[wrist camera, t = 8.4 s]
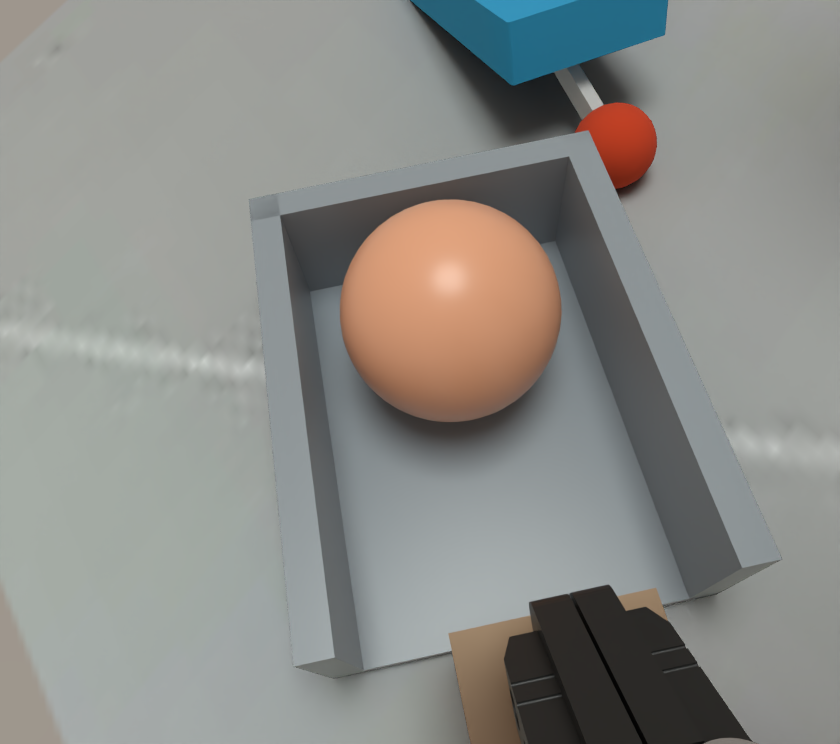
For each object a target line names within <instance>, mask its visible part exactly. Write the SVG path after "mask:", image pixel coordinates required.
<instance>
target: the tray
mask: <svg viewBox="0 0 840 744" xmlns="http://www.w3.org/2000/svg"><path fill="white" fill-rule="evenodd" d="M435 200H466V201H472V202H477V203H480V204H484V205H487V206H490V207H492V208H495V209H497V210H499V211H501V212H503V213H505V214H507V215H508V216H510V217H511V218H513V219H515V220H516V221H517V222H519V223H520V224H521V225H522V226H523V227H524V228H526V229H527V230H528V231H529V232H530V233H531V234H532V236H533V237H534V238H535V239H536V240H537V241H538V242H539V244H540V245H541V247H542V248H543V250H544V251H545V253H546V254H547V256H548V258H549V260H550V262H551V264H552V266H553V268H554V271H555V275H556V278H557V281H558V285H559V290H560V296H561V309H562V316H561V325H560V331H559V335H558V339H557V343H556V347H555V349H554V352H553V354H552V357H551V359H550V361H549V363H548V364H547V366H546V368H545V369H544V371H543V373H542V374H541V376H540V377H539V378H538V380H537V381H536V382H535V383H534V384H533V386H532V387H531V388H530V389H529V390H528V391H527V392H526V393H524V394H523V395H522V396H521V397H520V398H519V399H517V400H516V401H515V402H513V403H512V404H510V405H508V406H507V407H505V408H503V409H502V410H500V411H498V412H496V413H493V414H491V415H488V416H485V417H482V418H478V419H474V420H469V421H462V422H437V421H431V420H426V419H422V418H418V417H415V416H412V415H410V414H408V413H405V412H403V411H401V410H399V409H397V408H395V407H394V406H392V405H391V404H389V403H387V402H386V401H384V400H383V399H382V398H381V397H380V396H378V395H377V394H376V393H375V392H374V391H373V390H372V389H371V388H370V387H369V386H368V385H367V384H366V383H365V381H364V380H363V379H362V378H361V376H360V375H359V373H358V372H357V370H356V368H355V367H354V365H353V363H352V361H351V359H350V357H349V355H348V352H347V350H346V347H345V344H344V340H343V337H342V331H341V325H340V298H341V290H342V286H343V282H344V278H345V275H346V273H347V270H348V268H349V265H350V263H351V261H352V259H353V258H354V256H355V254H356V252H357V251H358V249H359V247H360V246H361V245H362V244H363V242H364V241H365V240H366V238H367V237H368V236H369V235H370V234H371V233H372V232H373V231H374V230H375V229H376V228H377V227H378V226H379V225H381V224H382V223H383V222H385V221H386V220H388V219H389V218H390V217H392V216H394V215H395V214H397V213H399V212H401V211H403V210H405V209H407V208H410V207H412V206H415V205H418V204H421V203H425V202H429V201H435ZM249 207H250V218H251V228H252V239H253V249H254V260H255V270H256V280H257V291H258V301H259V312H260V322H261V333H262V343H263V354H264V364H265V375H266V385H267V396H268V406H269V417H270V427H271V438H272V448H273V459H274V469H275V480H276V490H277V501H278V511H279V522H280V532H281V543H282V553H283V564H284V574H285V585H286V595H287V606H288V616H289V627H290V637H291V648H292V658H293V667H296V668H300V669H303V670H307V671H310V672H313V673H317V674H320V675H324V676H327V677H330V678H338V677H343V676H348V675H352V674H357V673H361V672H366V671H370V670H375V669H379V668H384V667H388V666H393V665H397V664H402V663H407V662H411V661H416V660H420V659H425V658H429V657H434V656H438V655H443V654H447V653H452V649H451V644H450V640H449V635H448V633H452V632H457V631H461V630H466V629H470V628H475V627H479V626H484V625H489V624H493V623H498V622H502V621H507V620H511V619H516V618H520V617H525V616H530V610H529V602H531V601H535V600H540V599H544V598H549V597H554V596H558V595H563V594H570V593H571V592H576V591H580V590H585V589H589V588H594V587H598V586H603V585H608V584H609V585H610V586H611V587H612V589H613V590H614V592H615V593H616V595H617V596H621V595H625V594H630V593H634V592H639V591H643V590H648V589H652V588H656V589H657V591H658V594H659V597H660V600H661V603H662V605H663V606H665V605H670V604H674V603H679V602H683V601H688V600H692V599H697V598H701V597H706V596H711V595H715V594H718V593H720V592H722V591H723V590H725V589H727V588H729V587H731V586H733V585H735V584H737V583H739V582H740V581H742V580H744V579H746V578H748V577H750V576H752V575H754V574H755V573H757V572H759V571H761V570H763V569H765V568H767V567H769V566H770V565H772V564H774V563H776V562H778V561H780V560H782V557H781V555H780V553H779V551H778V549H777V546H776V544H775V542H774V540H773V537H772V535H771V533H770V531H769V529H768V526H767V524H766V522H765V520H764V518H763V515H762V513H761V511H760V509H759V506H758V504H757V502H756V500H755V498H754V495H753V493H752V491H751V489H750V487H749V484H748V482H747V480H746V478H745V475H744V473H743V471H742V469H741V467H740V464H739V462H738V460H737V458H736V456H735V453H734V451H733V449H732V447H731V445H730V442H729V440H728V438H727V436H726V433H725V431H724V429H723V427H722V425H721V422H720V420H719V418H718V416H717V414H716V411H715V409H714V407H713V405H712V402H711V400H710V398H709V396H708V394H707V391H706V389H705V387H704V385H703V383H702V380H701V378H700V376H699V374H698V371H697V369H696V367H695V365H694V363H693V360H692V358H691V356H690V354H689V352H688V349H687V347H686V345H685V343H684V341H683V338H682V336H681V334H680V332H679V329H678V327H677V325H676V323H675V321H674V318H673V316H672V314H671V312H670V310H669V307H668V305H667V303H666V301H665V298H664V296H663V294H662V292H661V290H660V287H659V285H658V283H657V281H656V279H655V276H654V274H653V272H652V270H651V267H650V265H649V263H648V261H647V259H646V256H645V254H644V252H643V250H642V248H641V245H640V243H639V241H638V239H637V237H636V234H635V232H634V230H633V228H632V225H631V223H630V221H629V219H628V217H627V214H626V212H625V210H624V208H623V206H622V203H621V201H620V199H619V197H618V194H617V192H616V190H615V188H614V186H613V183H612V181H611V179H610V177H609V175H608V172H607V170H606V168H605V166H604V163H603V161H602V159H601V157H600V155H599V152H598V150H597V148H596V146H595V144H594V141H593V139H592V137H591V135H590V133H589V130H587V131H582V132H577V133H572V134H567V135H562V136H557V137H553V138H548V139H543V140H538V141H533V142H528V143H523V144H518V145H513V146H508V147H503V148H498V149H494V150H489V151H484V152H479V153H474V154H469V155H464V156H459V157H454V158H449V159H444V160H439V161H435V162H430V163H425V164H420V165H415V166H410V167H405V168H400V169H395V170H390V171H385V172H380V173H375V174H371V175H366V176H361V177H356V178H351V179H346V180H341V181H336V182H331V183H326V184H321V185H316V186H312V187H307V188H302V189H297V190H292V191H287V192H282V193H277V194H272V195H267V196H262V197H257V198H253V199H249Z"/></svg>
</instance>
